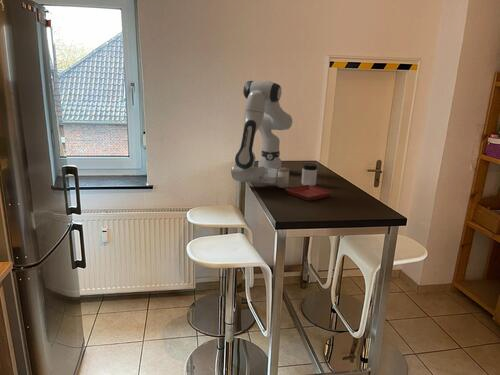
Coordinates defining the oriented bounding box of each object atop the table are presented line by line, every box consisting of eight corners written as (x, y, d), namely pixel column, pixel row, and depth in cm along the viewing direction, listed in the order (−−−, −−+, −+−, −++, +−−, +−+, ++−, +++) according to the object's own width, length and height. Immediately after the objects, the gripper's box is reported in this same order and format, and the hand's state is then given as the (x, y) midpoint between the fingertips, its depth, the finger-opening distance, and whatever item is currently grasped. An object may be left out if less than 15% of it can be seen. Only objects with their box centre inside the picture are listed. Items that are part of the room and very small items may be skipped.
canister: (277, 184, 222) (278, 167, 219) (288, 185, 221) (289, 167, 218) (276, 187, 216) (277, 169, 213) (288, 188, 215) (289, 170, 212)
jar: (307, 186, 227) (309, 166, 224) (298, 183, 233) (299, 163, 230) (318, 185, 232) (320, 165, 228) (309, 181, 238) (311, 162, 235)
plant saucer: (284, 194, 211) (284, 188, 210) (307, 189, 222) (308, 184, 221) (308, 203, 197) (308, 196, 197) (332, 197, 208) (332, 191, 207)
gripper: (258, 174, 207) (284, 175, 206) (261, 165, 227) (285, 167, 226) (258, 185, 209) (283, 187, 208) (261, 176, 229) (285, 177, 227)
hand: (284, 176), depth 217 cm, fingers closed on canister, 6 cm apart
